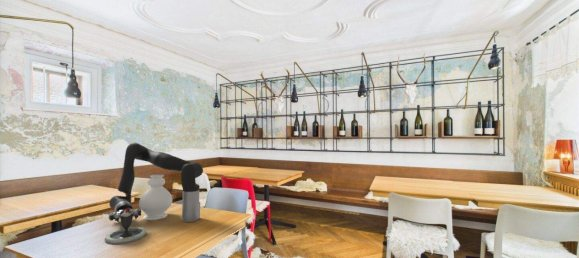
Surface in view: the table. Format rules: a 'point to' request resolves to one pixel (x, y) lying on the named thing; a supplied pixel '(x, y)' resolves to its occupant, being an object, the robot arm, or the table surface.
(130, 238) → the tray
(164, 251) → the table surface
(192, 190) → the robot arm
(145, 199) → the decorative vase
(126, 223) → the sundae
